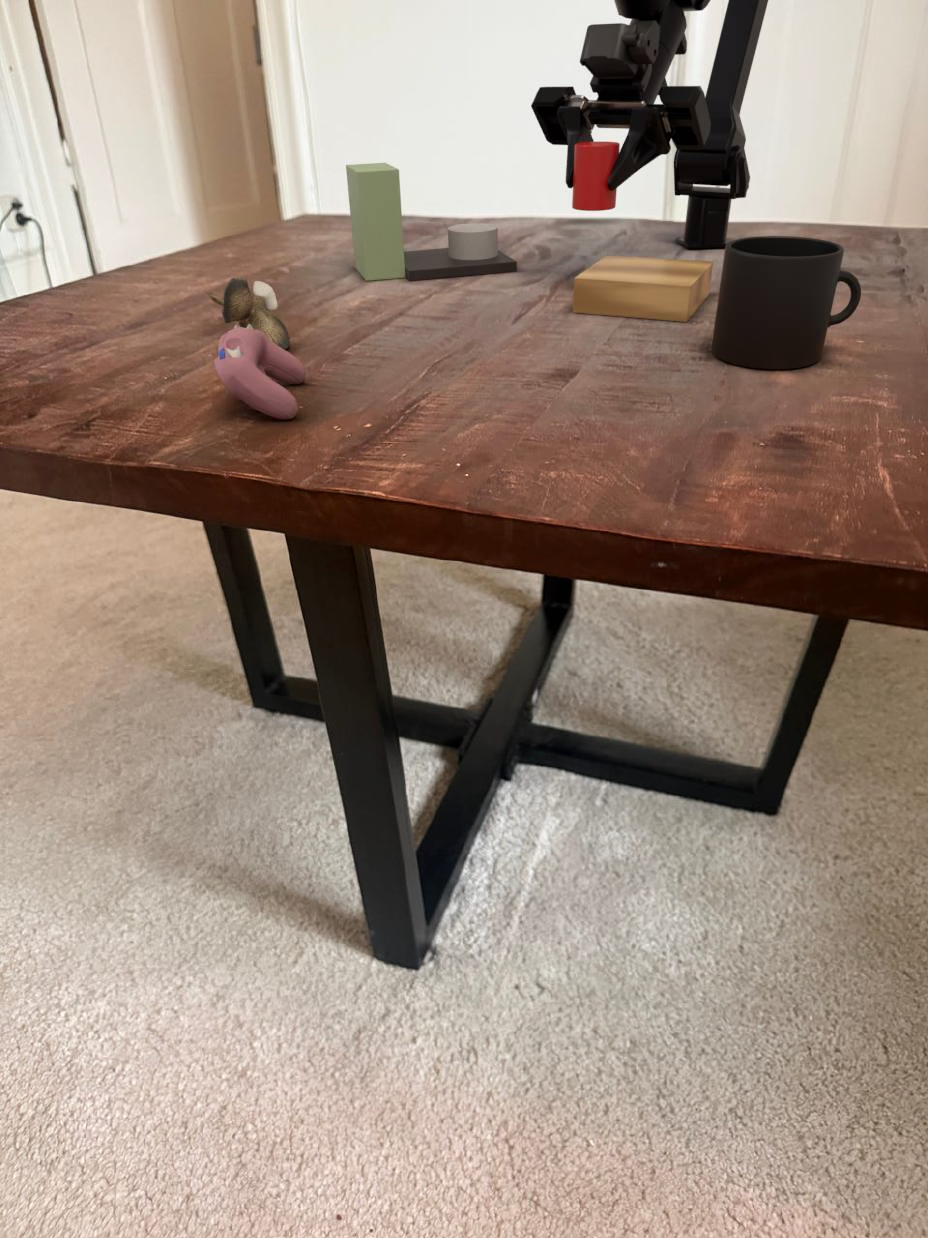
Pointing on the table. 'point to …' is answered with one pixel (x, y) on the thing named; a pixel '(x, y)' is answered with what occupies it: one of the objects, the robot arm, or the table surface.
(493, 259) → the coffee maker
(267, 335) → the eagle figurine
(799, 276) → the mug
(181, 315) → the table surface
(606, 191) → the cylinder
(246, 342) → the video game controller
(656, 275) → the block
